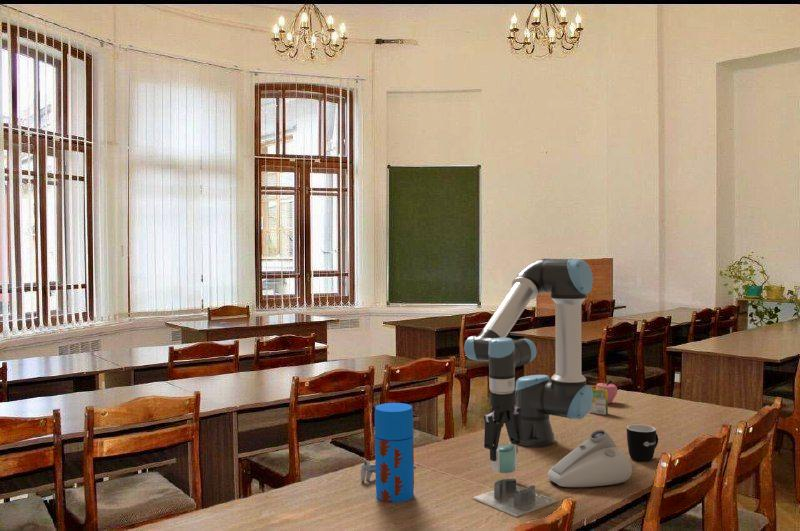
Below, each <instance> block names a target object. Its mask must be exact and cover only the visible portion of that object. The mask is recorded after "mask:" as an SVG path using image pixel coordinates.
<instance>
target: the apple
mask: <svg viewBox="0 0 800 531" xmlns="http://www.w3.org/2000/svg"><path fill="white" fill-rule="evenodd" d="M595 386H606V390H608V405H609V404H611V403H613V401H614V400H615V397H617V393H618V387H617V385H615V384H614V383H613V381H612V380H609V381H608V382H607V383H605V382H598V383H596V385H595ZM595 389H601V388H599V387H595Z"/></svg>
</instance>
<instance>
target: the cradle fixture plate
mask: <svg viewBox="0 0 800 531" xmlns="http://www.w3.org/2000/svg"><path fill="white" fill-rule="evenodd" d="M493 484H494V487H493V490H490V491H487V492H483V493H481V494H478V495H475V496H473V497H472V499H473V500H474V501H476V502H480V503H482V504H484V505H486V506H489V507H491V508H494V509H496V510H498V511H501V512H503V513H505V514H508V515H511V516H513V517H515V518H518V517H521V516H523V515H526V514H529V513H531V512H534V511H536V510H539V509H542V508H545V507H547V506H550V505H553V504H555V503H557V502H558V499H555V498H554V497H551V496H548V495H545V494H543V493H539V492H537V491H536V485H531V484H530V485H529V487H528V488H526V487H523V486H520V485H517V479H516V478H505V479H499V480H497V481H496V482H494V483H493Z"/></svg>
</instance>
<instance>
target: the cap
mask: <svg viewBox="0 0 800 531" xmlns="http://www.w3.org/2000/svg"><path fill="white" fill-rule="evenodd" d="M497 449H498V450H500V472H498V473H500V474H510V473H513V472H515V471H516V467H515V448H513V447H511V446H508V445H498V448H497Z"/></svg>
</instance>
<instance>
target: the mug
mask: <svg viewBox="0 0 800 531" xmlns="http://www.w3.org/2000/svg"><path fill="white" fill-rule="evenodd" d="M626 439H627V442H626V443H627V448H628V454H629V457H630V459H631V460H633V461H635V462H639V463H640V462H641V463H648V462H651V461H652V460H653V458H654V454H655V451H656V450H655V449H656V448H657V446H658V443H659V436H658V433H657V429H656V428H655V427H654V426H652V425H648V424H637V423H635V424H628V425H627V426H626Z"/></svg>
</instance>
